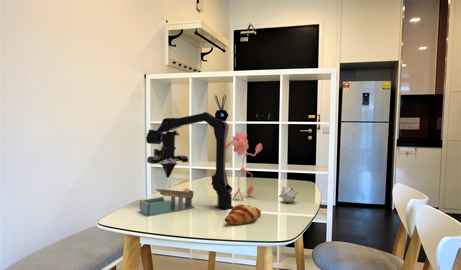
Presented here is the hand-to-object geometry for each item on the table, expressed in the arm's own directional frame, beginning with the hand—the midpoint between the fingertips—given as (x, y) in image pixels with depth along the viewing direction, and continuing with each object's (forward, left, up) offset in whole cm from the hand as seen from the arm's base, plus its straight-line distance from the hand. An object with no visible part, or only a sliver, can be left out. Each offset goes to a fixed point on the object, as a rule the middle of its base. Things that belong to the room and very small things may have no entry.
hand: (167, 177), depth 142 cm
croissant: (-41, -13, -13) cm, 45 cm away
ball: (-9, -5, -6) cm, 12 cm away
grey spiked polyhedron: (-32, -49, -13) cm, 60 cm away
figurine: (-9, -37, -13) cm, 40 cm away
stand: (-9, -1, -13) cm, 16 cm away
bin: (-9, +10, -13) cm, 19 cm away
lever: (-4, 0, -7) cm, 8 cm away
